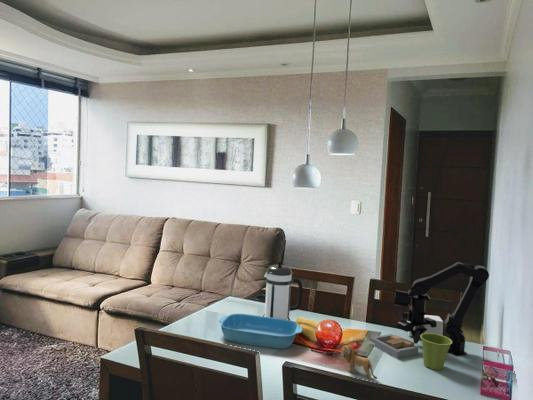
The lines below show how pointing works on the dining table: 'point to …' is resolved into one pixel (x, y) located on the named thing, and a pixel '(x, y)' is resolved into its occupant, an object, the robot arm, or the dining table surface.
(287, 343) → the casserole dish
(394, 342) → the t block
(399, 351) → the dock
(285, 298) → the coffee press
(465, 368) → the dining table surface
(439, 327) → the supplement box
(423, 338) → the plant pot
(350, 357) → the lion figurine
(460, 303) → the robot arm
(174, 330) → the dining table surface
